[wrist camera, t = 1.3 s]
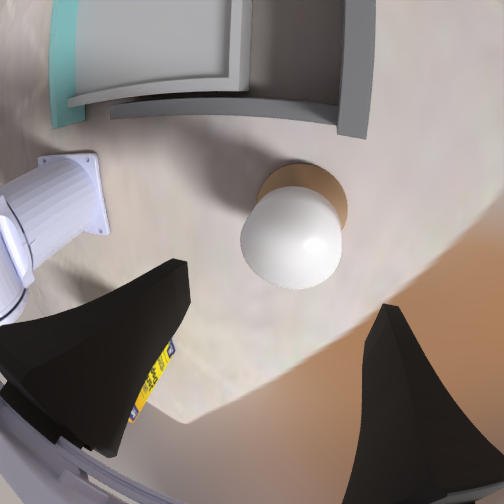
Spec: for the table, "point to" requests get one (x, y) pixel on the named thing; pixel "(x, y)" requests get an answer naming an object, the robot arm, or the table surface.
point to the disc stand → (308, 184)
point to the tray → (144, 50)
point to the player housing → (342, 115)
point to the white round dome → (292, 238)
